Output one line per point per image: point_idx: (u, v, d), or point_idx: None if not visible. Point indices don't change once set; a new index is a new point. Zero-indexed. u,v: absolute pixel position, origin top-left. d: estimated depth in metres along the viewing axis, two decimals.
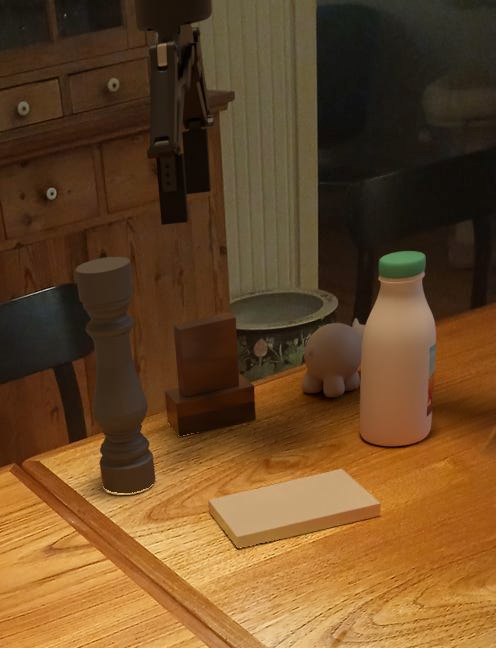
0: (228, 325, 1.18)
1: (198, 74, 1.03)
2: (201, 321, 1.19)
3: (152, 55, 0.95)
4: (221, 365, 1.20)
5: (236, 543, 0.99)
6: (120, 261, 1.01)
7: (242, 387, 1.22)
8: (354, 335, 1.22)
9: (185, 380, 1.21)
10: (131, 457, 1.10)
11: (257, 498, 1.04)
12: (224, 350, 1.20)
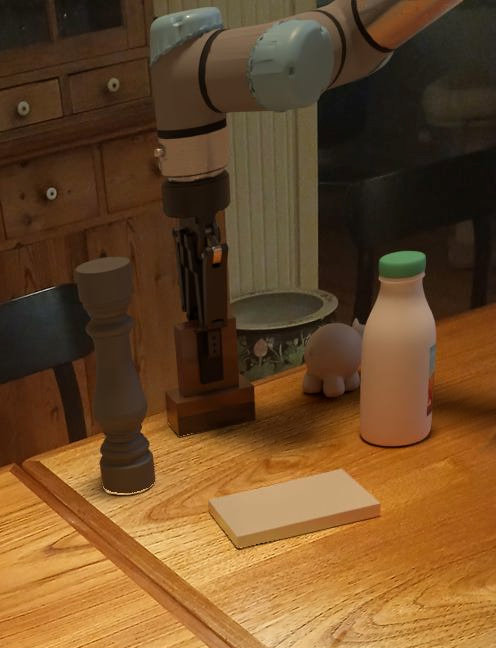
0: (228, 325, 1.18)
1: None
2: None
3: (209, 258, 1.08)
4: None
5: (236, 543, 0.99)
6: (120, 261, 1.01)
7: (242, 387, 1.22)
8: (354, 335, 1.22)
9: (185, 380, 1.21)
10: (131, 457, 1.10)
11: (257, 498, 1.04)
12: (224, 350, 1.20)
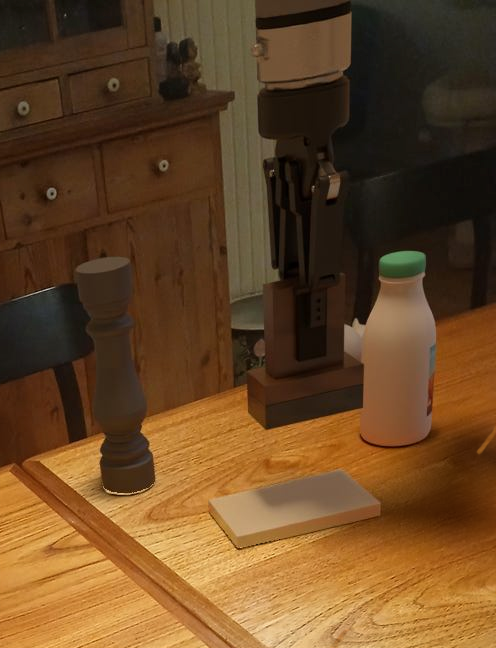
0: None
1: None
2: (299, 279, 0.92)
3: (323, 192, 0.82)
4: None
5: (236, 543, 0.99)
6: (120, 261, 1.01)
7: (348, 365, 0.95)
8: (354, 335, 1.22)
9: (276, 357, 0.94)
10: (131, 457, 1.10)
11: (257, 498, 1.04)
12: (328, 317, 0.93)
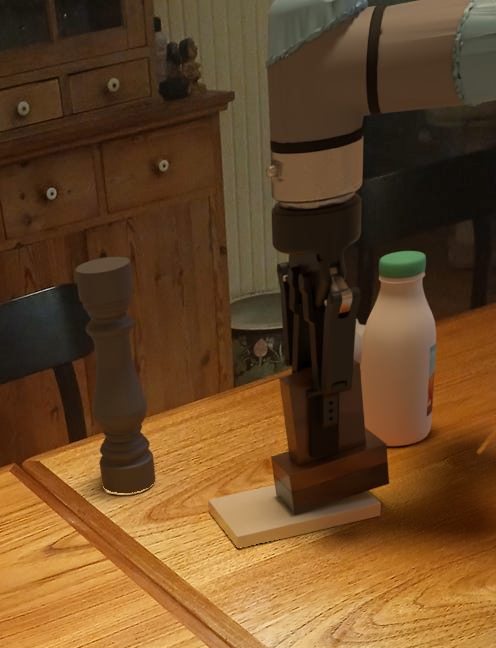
0: None
1: None
2: None
3: (335, 307, 0.84)
4: (343, 422, 0.96)
5: (236, 543, 0.99)
6: (120, 261, 1.01)
7: (371, 446, 0.97)
8: None
9: (299, 445, 0.96)
10: (131, 457, 1.10)
11: (257, 498, 1.04)
12: (347, 404, 0.95)
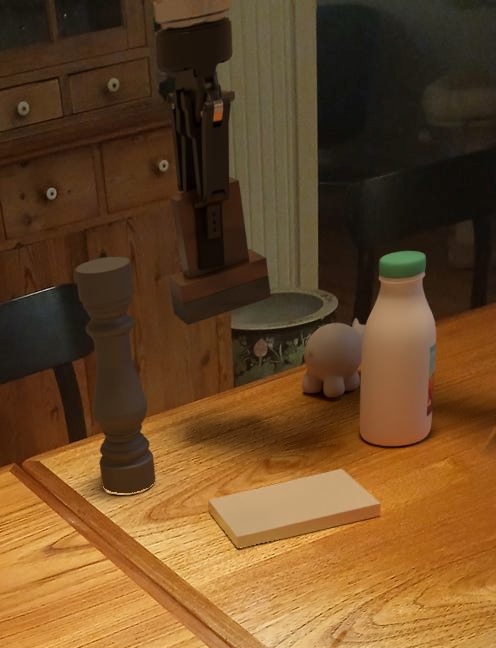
0: (231, 190, 1.06)
1: None
2: None
3: (209, 115, 0.97)
4: (227, 237, 1.08)
5: (236, 543, 0.99)
6: (120, 261, 1.01)
7: (253, 260, 1.09)
8: (354, 335, 1.22)
9: (189, 259, 1.09)
10: (131, 457, 1.10)
11: (257, 498, 1.04)
12: (230, 220, 1.07)
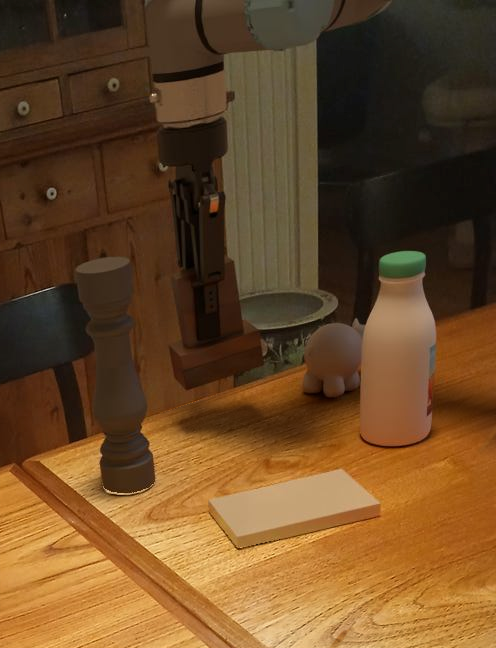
0: (227, 269, 1.14)
1: None
2: None
3: (205, 207, 1.05)
4: (223, 311, 1.17)
5: (236, 543, 0.99)
6: (120, 261, 1.01)
7: (247, 332, 1.18)
8: (354, 335, 1.22)
9: (187, 331, 1.18)
10: (131, 457, 1.10)
11: (257, 498, 1.04)
12: (225, 295, 1.16)
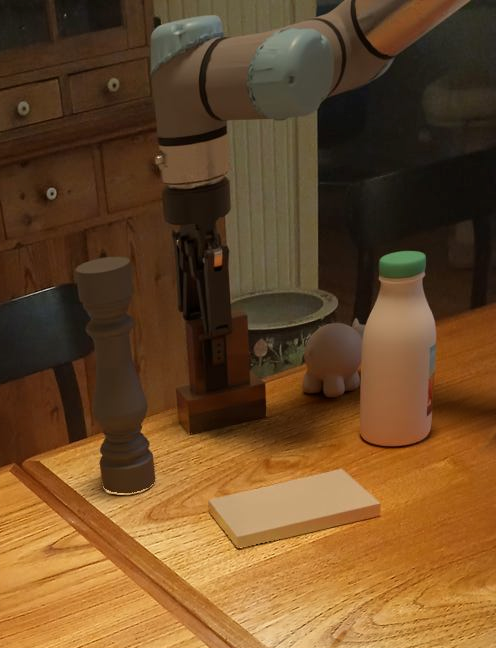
0: (240, 322, 1.18)
1: None
2: None
3: (210, 261, 1.08)
4: (232, 362, 1.21)
5: (236, 543, 0.99)
6: (120, 261, 1.01)
7: (253, 384, 1.22)
8: (354, 335, 1.22)
9: (197, 377, 1.21)
10: (131, 457, 1.10)
11: (257, 498, 1.04)
12: (236, 347, 1.20)
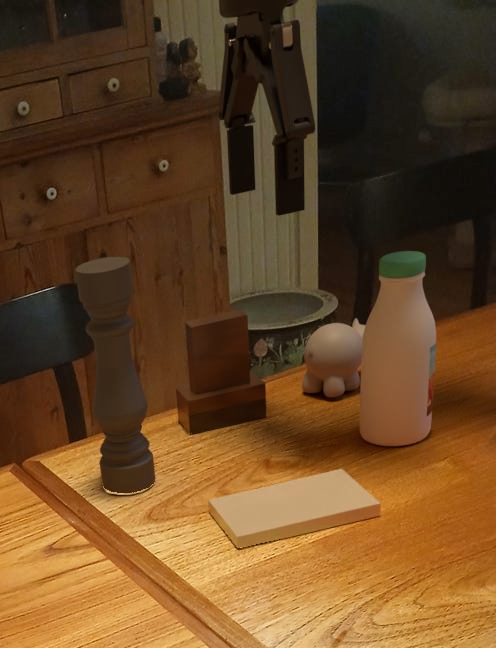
0: (240, 322, 1.18)
1: None
2: (212, 318, 1.19)
3: (277, 35, 0.90)
4: (232, 362, 1.21)
5: (236, 543, 0.99)
6: (120, 261, 1.01)
7: (253, 384, 1.22)
8: (354, 335, 1.22)
9: (197, 377, 1.21)
10: (131, 457, 1.10)
11: (257, 498, 1.04)
12: (236, 347, 1.20)
